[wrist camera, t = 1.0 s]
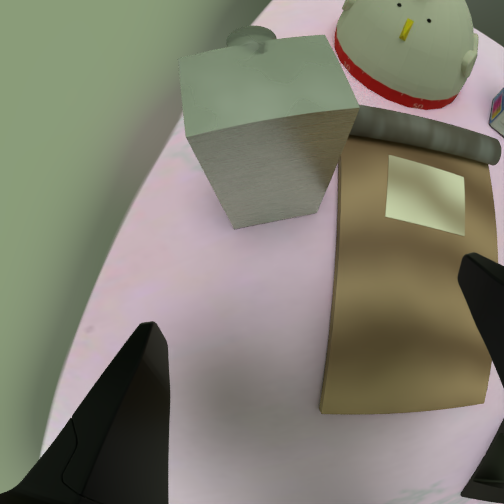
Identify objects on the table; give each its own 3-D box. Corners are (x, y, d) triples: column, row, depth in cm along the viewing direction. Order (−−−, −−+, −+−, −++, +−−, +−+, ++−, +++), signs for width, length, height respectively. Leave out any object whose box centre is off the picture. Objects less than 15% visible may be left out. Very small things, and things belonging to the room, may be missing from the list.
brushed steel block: (316, 213, 22) (359, 107, 10) (234, 229, 23) (185, 137, 10) (299, 150, 23) (315, 19, 11) (222, 164, 24) (176, 41, 11)
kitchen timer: (310, 60, 25) (322, -78, 10) (362, 3, 26) (382, -95, 12) (442, 136, 23) (530, 27, 8) (466, 62, 24) (519, -25, 10)
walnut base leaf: (476, 400, 19) (500, 410, 15) (319, 408, 20) (326, 426, 16) (478, 151, 22) (497, 133, 19) (337, 122, 24) (345, 96, 20)
